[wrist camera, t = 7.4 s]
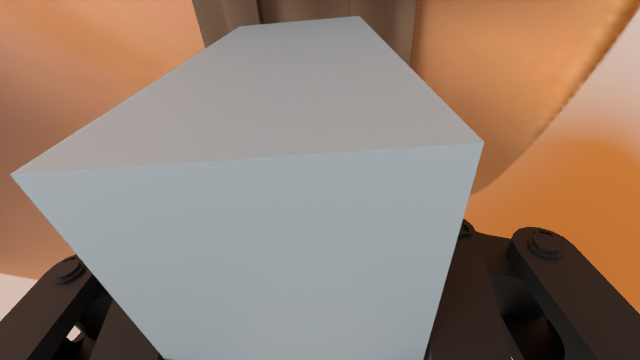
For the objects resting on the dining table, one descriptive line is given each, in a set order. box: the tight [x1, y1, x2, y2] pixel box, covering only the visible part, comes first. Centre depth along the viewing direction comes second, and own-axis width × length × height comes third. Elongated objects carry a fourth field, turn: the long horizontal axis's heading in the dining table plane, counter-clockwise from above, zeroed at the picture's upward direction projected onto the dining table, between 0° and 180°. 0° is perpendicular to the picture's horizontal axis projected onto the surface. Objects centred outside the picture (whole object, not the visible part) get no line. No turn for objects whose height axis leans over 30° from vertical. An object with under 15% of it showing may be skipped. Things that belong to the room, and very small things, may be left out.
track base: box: [192, 0, 417, 67], centre depth 17 cm, size 14×24×11 cm, turn 4°
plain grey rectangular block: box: [9, 16, 484, 360], centre depth 10 cm, size 4×10×10 cm, turn 4°
